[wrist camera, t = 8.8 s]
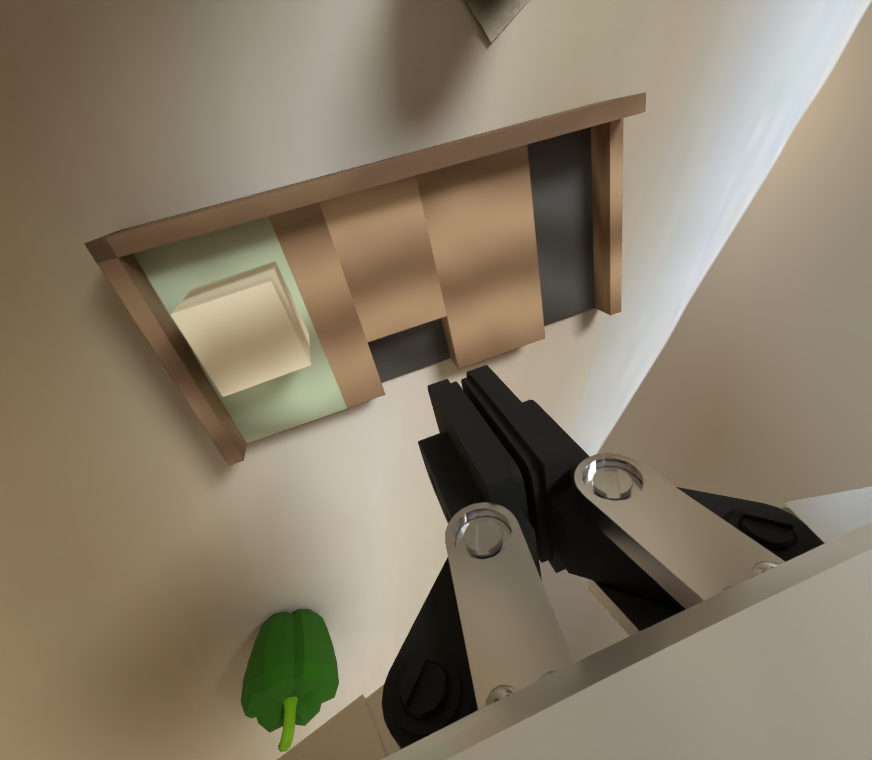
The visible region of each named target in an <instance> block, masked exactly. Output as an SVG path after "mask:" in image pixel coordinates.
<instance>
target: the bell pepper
mask: <svg viewBox="0 0 872 760" xmlns="http://www.w3.org/2000/svg"><path fill="white" fill-rule="evenodd" d="M338 685H339V679H338V669H337V661H336V657H335V652H334V648H333V644H332V641H331V638H330V635H329V632H328V629H327V627H326V625H325V622H324V620H323V618H322V617H321V616H319V615H318V614H317V613H315V612H313V611H311V610H309V609H303V610H298V611H297V612H296V613H294V614H292V613H288V612H285V613H278V614H275V615H273V616H272V617H271V618H269V619H268V620H267V621H266V622H265V623H264V624H263V626H262V627H261V629H260V631H259V634H258V636H257V638H256V641H255V644H254V647H253V650H252V653H251V655H250V659H249V662H248V665H247V669H246V672H245V676H244V680H243V689H242V697H241V704H242V707H243V710H244V713H245V715H246V716H248V717H250V718H253V717H257V720H258V723H259V724H260V725H261V726H262V727H264V728H265V729H266V730H267V731H268V732H272V731H274V730H276V729H278V728H280V727H282V726H283V731H282V737H281V741H280V743H279V745H278V749H279V750H280V752H282V751H287V750H288V749H289V748H290V746H291V743H292V739H293V734H294V728H295V725H303V726H305V725H306V724H307V723H308V722H309V721H310V720H311V719H312V718H313V717H314V716H315V715H316V714H317V713H318V712H319V711H320V707H321V703H323V702H325V701H328V700H330V699H332V698H334V697H335V694H336V691H337V688H338Z"/></svg>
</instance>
